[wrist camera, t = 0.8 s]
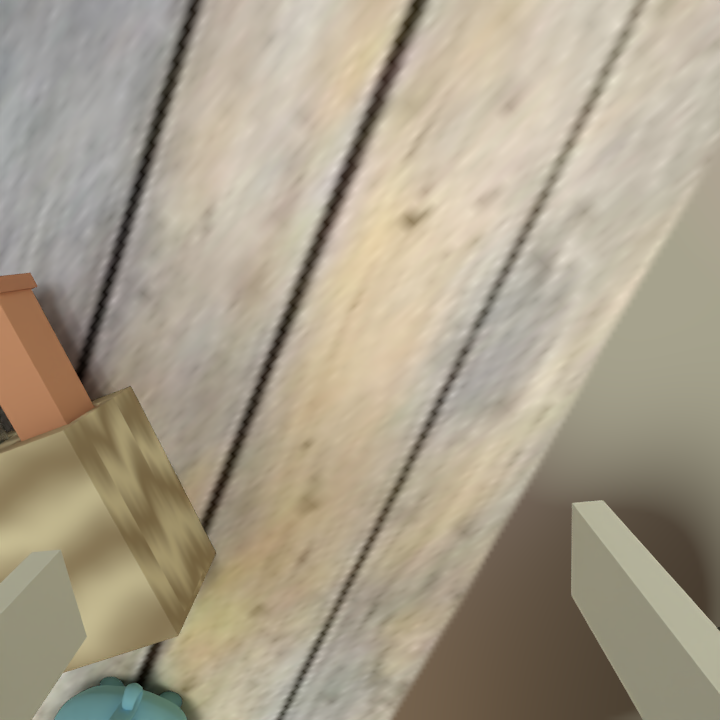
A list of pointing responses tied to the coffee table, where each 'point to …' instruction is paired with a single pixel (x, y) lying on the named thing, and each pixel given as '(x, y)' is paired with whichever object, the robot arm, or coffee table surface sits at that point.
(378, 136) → the coffee table surface
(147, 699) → the teapot
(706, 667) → the robot arm
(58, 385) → the terracotta plug
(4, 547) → the socket block
